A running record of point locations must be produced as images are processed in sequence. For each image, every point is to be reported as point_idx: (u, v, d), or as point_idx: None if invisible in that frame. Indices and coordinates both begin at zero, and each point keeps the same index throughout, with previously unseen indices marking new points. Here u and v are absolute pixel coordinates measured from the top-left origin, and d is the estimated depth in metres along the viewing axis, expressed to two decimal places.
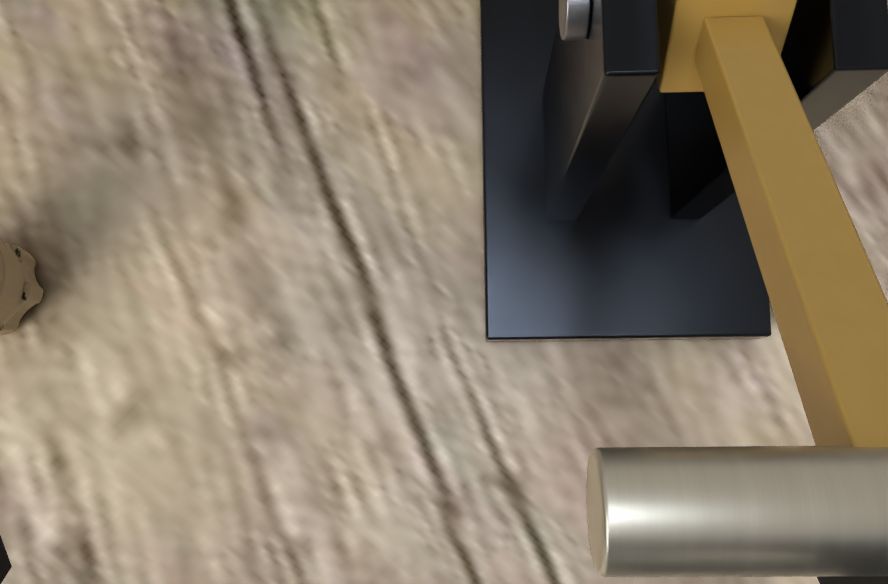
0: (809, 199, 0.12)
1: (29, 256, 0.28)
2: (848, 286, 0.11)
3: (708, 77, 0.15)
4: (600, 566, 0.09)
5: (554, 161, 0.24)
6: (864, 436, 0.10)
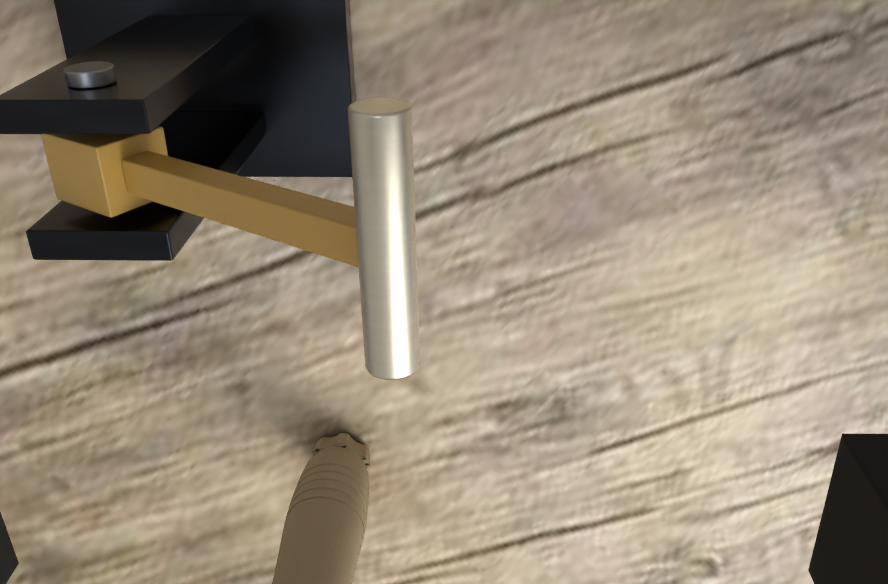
0: (239, 210, 0.23)
1: (319, 442, 0.46)
2: (284, 222, 0.22)
3: None
4: None
5: None
6: (354, 260, 0.21)
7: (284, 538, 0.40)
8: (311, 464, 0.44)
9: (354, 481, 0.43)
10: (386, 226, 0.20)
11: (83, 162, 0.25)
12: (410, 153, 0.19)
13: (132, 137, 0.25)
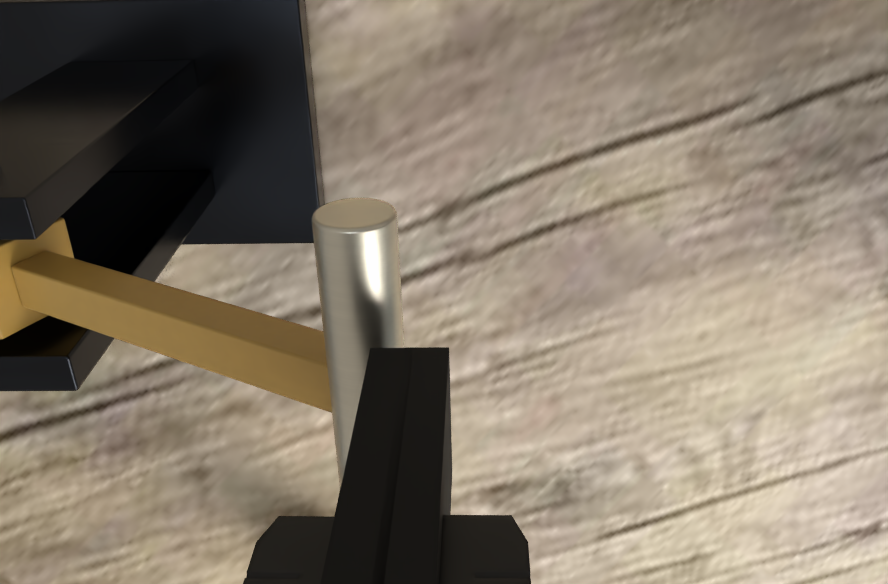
0: (169, 335, 0.18)
1: None
2: (230, 354, 0.17)
3: None
4: None
5: None
6: (325, 405, 0.16)
7: None
8: None
9: None
10: None
11: None
12: (397, 272, 0.15)
13: None
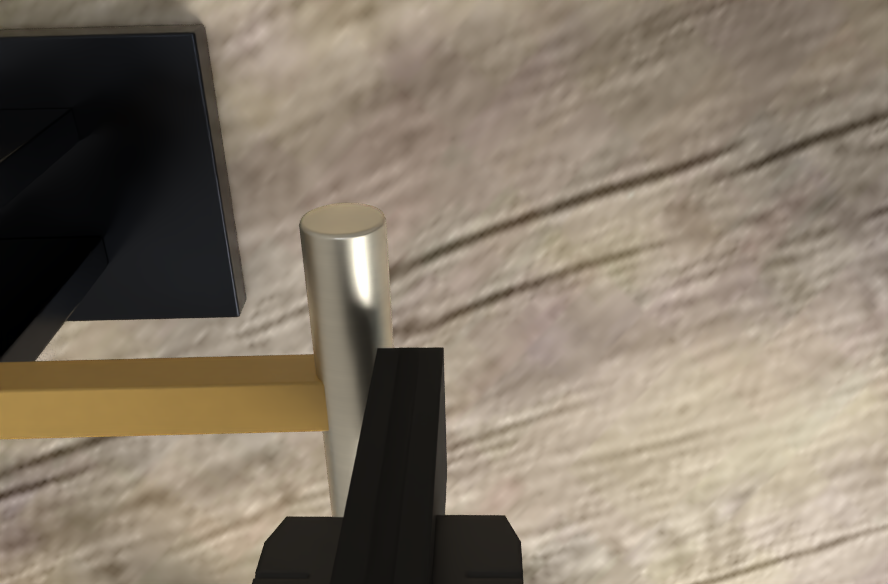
0: (98, 411, 0.15)
1: None
2: (191, 407, 0.15)
3: None
4: None
5: None
6: (320, 425, 0.16)
7: None
8: None
9: None
10: None
11: None
12: (388, 269, 0.15)
13: None
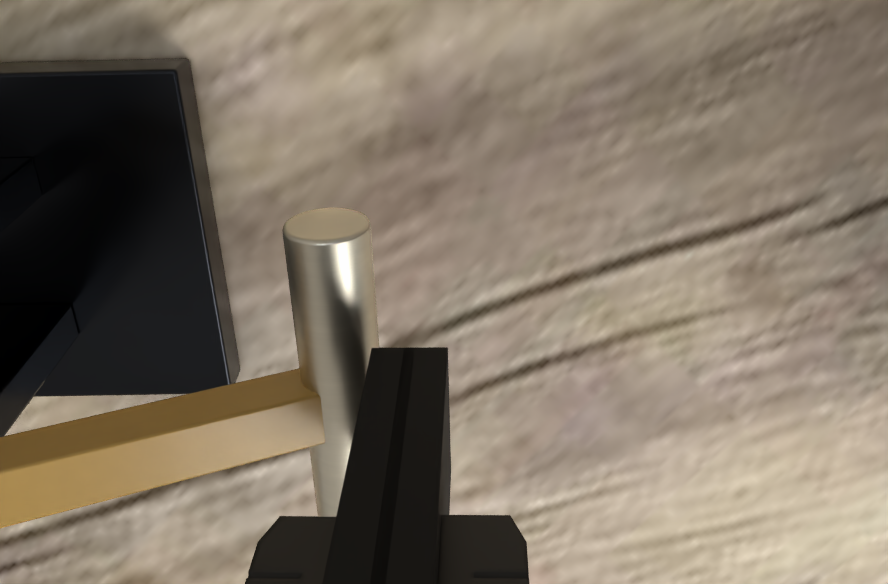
0: (74, 480, 0.14)
1: None
2: (182, 450, 0.14)
3: None
4: None
5: None
6: (317, 439, 0.15)
7: None
8: None
9: None
10: None
11: None
12: None
13: None
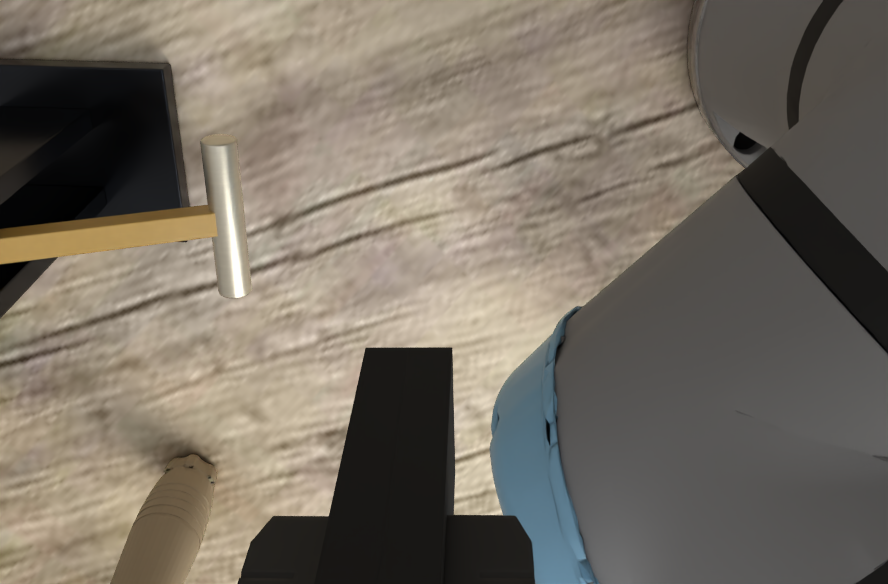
0: (111, 236, 0.34)
1: (171, 462, 0.52)
2: (155, 230, 0.35)
3: None
4: None
5: None
6: (213, 233, 0.36)
7: (124, 549, 0.46)
8: (159, 483, 0.50)
9: (194, 498, 0.49)
10: (237, 204, 0.35)
11: None
12: None
13: None
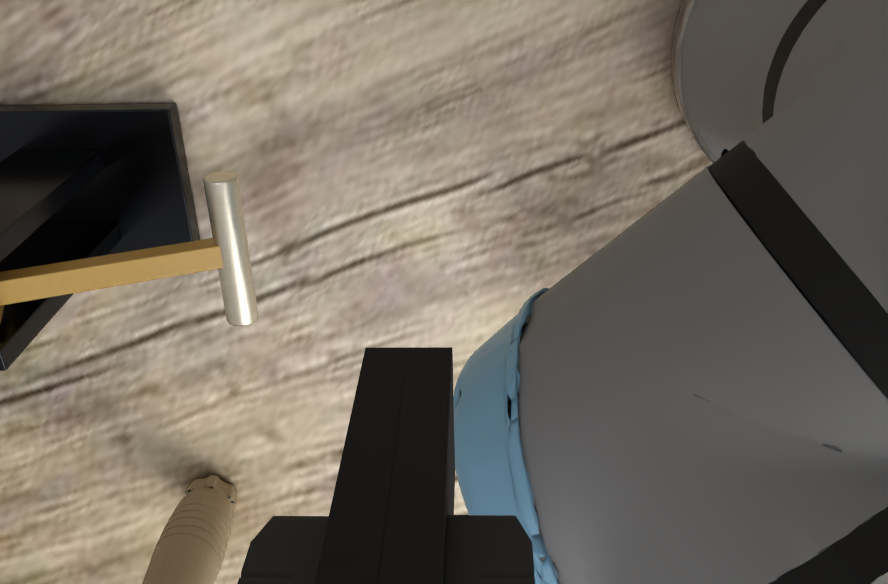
0: (122, 272, 0.36)
1: (192, 483, 0.54)
2: (163, 264, 0.36)
3: None
4: None
5: None
6: (219, 265, 0.37)
7: (148, 568, 0.48)
8: (180, 504, 0.52)
9: (215, 518, 0.51)
10: (241, 236, 0.37)
11: None
12: (239, 195, 0.37)
13: None
